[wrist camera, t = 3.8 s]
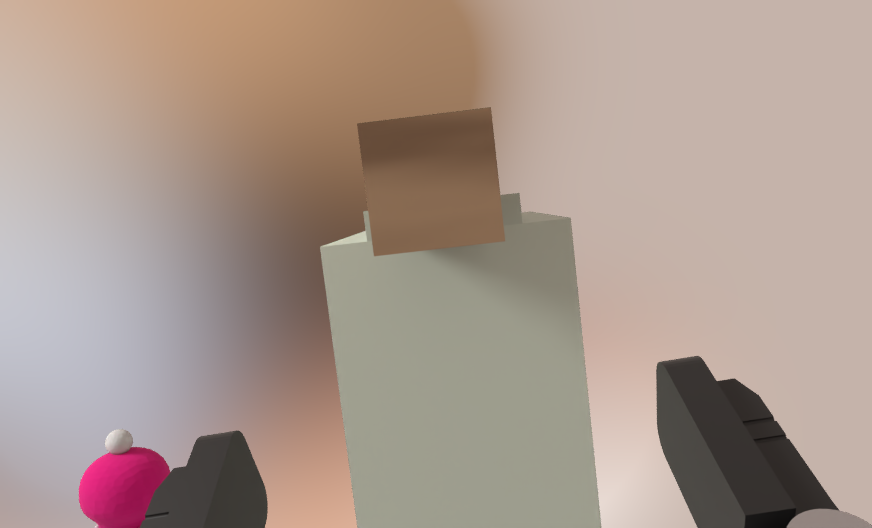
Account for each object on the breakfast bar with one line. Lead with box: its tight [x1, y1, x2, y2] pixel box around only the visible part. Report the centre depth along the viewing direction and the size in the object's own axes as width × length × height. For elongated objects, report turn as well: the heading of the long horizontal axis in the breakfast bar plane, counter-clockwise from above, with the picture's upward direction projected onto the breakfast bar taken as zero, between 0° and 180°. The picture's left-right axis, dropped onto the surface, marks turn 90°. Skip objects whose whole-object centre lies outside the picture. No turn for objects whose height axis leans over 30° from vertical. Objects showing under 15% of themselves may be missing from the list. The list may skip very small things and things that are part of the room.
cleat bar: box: [357, 107, 505, 256], centre depth 29 cm, size 23×4×4 cm, turn 179°
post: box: [320, 193, 601, 528], centre depth 35 cm, size 14×10×33 cm
